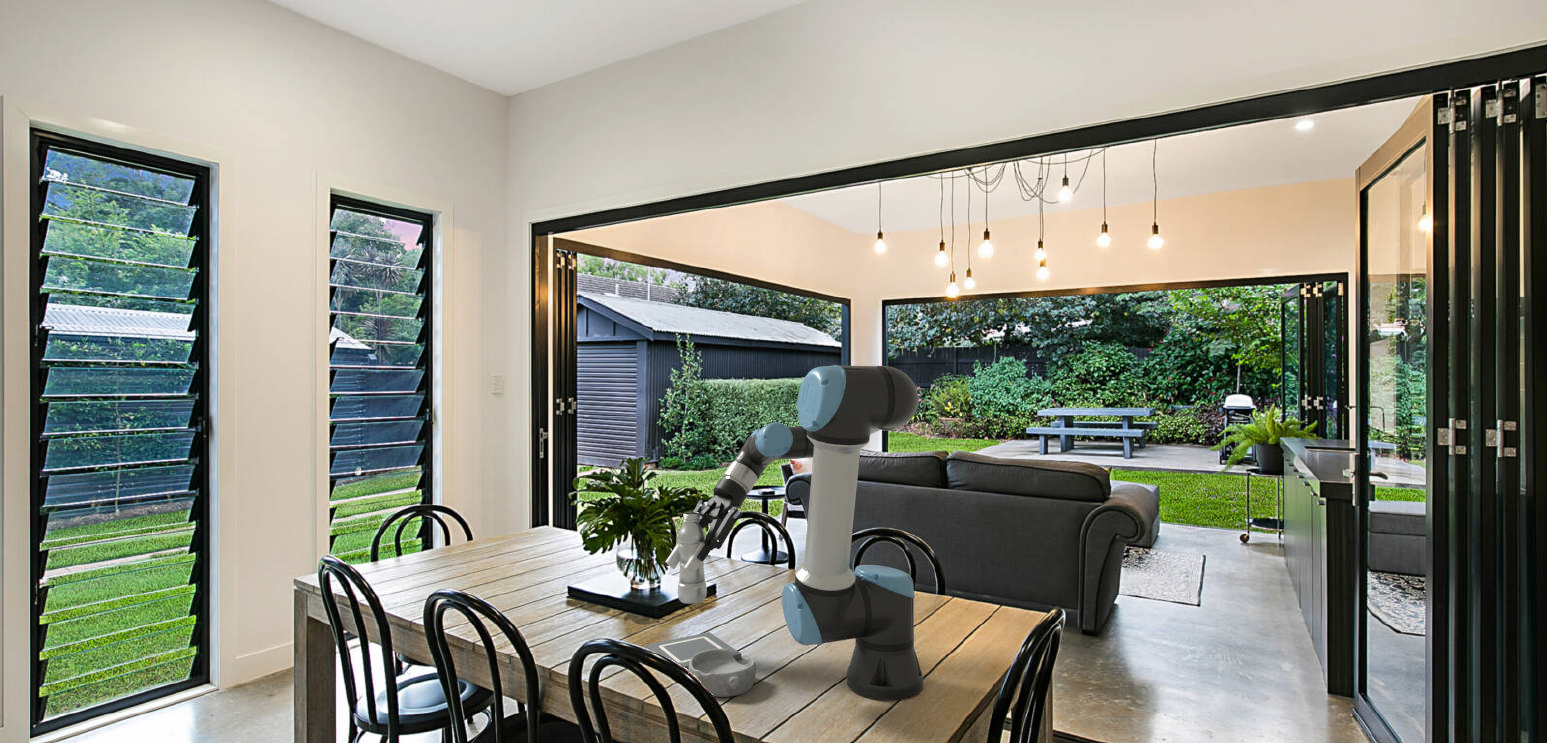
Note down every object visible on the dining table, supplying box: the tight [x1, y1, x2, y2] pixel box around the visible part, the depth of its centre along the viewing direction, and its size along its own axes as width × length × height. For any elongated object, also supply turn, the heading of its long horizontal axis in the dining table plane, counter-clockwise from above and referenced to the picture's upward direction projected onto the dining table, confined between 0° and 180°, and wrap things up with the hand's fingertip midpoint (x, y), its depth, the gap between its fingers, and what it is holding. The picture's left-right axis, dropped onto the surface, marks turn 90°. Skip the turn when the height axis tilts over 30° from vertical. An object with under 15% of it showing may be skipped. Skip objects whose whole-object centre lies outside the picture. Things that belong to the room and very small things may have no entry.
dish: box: [688, 649, 757, 698], centre depth 147 cm, size 14×14×5 cm
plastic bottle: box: [676, 511, 708, 605], centre depth 164 cm, size 6×7×20 cm
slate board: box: [645, 632, 742, 670], centre depth 164 cm, size 16×16×1 cm
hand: (679, 568), depth 162 cm, fingers closed on plastic bottle, 6 cm apart
